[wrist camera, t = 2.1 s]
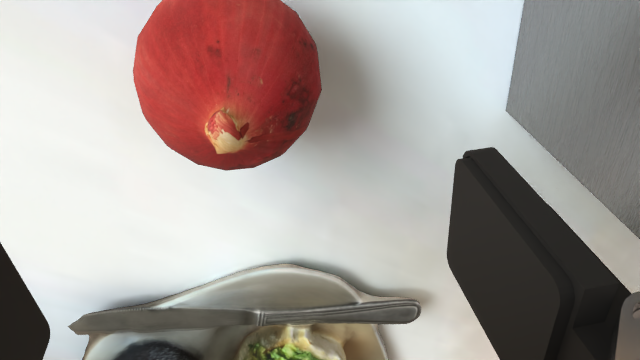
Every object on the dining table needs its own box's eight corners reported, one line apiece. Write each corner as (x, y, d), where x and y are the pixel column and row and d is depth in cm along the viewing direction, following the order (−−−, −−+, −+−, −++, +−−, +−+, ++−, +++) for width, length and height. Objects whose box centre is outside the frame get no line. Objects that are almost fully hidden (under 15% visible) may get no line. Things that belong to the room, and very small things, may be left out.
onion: (323, -14, 18) (380, 68, 12) (280, 120, 21) (307, 245, 15) (161, -66, 16) (124, -2, 10) (138, 88, 19) (98, 216, 13)
